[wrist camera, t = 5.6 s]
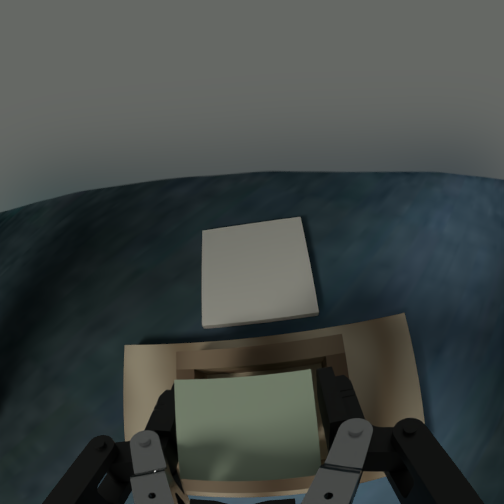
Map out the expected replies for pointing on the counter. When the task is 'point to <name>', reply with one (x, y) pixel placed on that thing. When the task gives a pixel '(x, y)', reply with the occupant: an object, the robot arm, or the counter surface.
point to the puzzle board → (281, 361)
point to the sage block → (247, 427)
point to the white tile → (256, 274)
